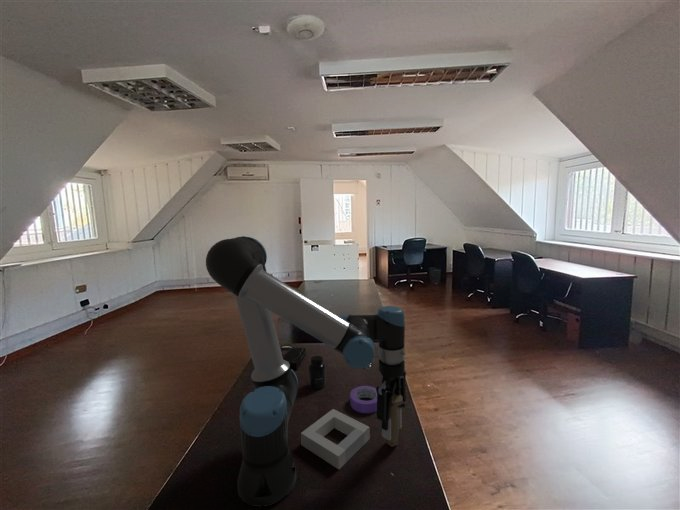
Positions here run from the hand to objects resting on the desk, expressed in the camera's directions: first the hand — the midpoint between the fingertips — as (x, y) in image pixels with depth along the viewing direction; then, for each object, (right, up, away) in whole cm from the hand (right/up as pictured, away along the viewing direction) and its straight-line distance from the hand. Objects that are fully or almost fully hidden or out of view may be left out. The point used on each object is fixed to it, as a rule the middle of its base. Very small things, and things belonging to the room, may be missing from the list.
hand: (392, 431), depth 93 cm
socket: (-17, -4, +2) cm, 18 cm away
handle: (0, -4, 0) cm, 4 cm away
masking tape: (-6, -2, +21) cm, 22 cm away
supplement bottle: (-25, -1, +34) cm, 42 cm away
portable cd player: (-43, +1, +57) cm, 71 cm away
